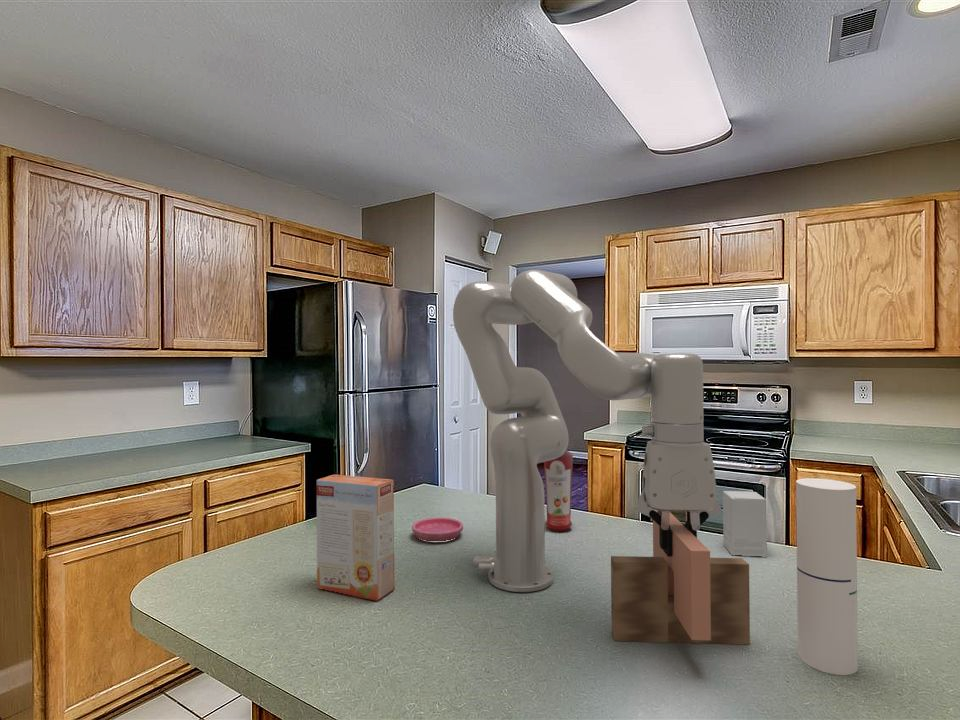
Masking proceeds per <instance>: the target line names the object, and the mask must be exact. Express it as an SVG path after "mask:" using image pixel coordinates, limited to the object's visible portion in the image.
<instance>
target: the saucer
mask: <svg viewBox="0 0 960 720" xmlns="http://www.w3.org/2000/svg"><path fill="white" fill-rule="evenodd" d="M411 530H412V532H413V534H414V535H415V536H416V537H417V538H418V539H419V538H420V539H422V540H426V541H446V540H451V539H454V538H456V537H457V538H458V536H459V535H461V532H462V531H463V530H464V523H463V522H461V521H460V520H458V519H456V518H452V517H451V518H450V517H428V518H423V519H419V520H418V521H417V520H416V522H414V523H412V526H411ZM457 538H456V539H457ZM420 539H419V540H420ZM454 540H455V539H454Z"/></svg>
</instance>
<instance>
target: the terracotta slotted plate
mask: <svg viewBox="0 0 960 720" xmlns="http://www.w3.org/2000/svg"><path fill="white" fill-rule="evenodd" d="M655 511H656V512H657V510H655ZM669 525H670V529H671V530H672V546H673V555H672V557H668V556H667V555H666V553H665V552H664V551H663V549H661V548H660V543H659V525H658V524H657V523H656V522H655V521H654V520H653V519H652V557H663V558H664V559H665V560H666V562H667V569H668V596H674V613H675V614H676V616H677V617H678V619H679V621H680V622H681V624H682V625H683V627H684V628H685V630H686V632H687V633H688V635H689V636H690V638H691V639H692V640H711V599H710V558H711V551H710V550H709V548H707V546H706V545H704V543H702V542H701V541H700V540H699V539H698V537H697V538H696V537H695V536H694V535H693V534H692V533H691V532H690V531H689V530H688V529H687V528H686V527H685V526H684V525H685V524H683V523H682V522H681V521H680V520H678V518H677V517H676V516H674V514H672V512H670V521H669Z"/></svg>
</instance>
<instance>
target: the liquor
mask: <svg viewBox="0 0 960 720" xmlns="http://www.w3.org/2000/svg"><path fill="white" fill-rule="evenodd" d="M573 457H574V455H573V453H571V452H570V451H568V450H567V449H566V451H565V453H564V454H563V455H562V456H560V457H559V458H557V459H554V460H550V461H546V462H543V464H544V465H543V467H544V483H545V485H544V486H545V499H546V501H545V503H546V520H545V527H547V528H548V530H550V531H552V530H553V531H552V532H556V531H557V533H558V532H559V533H560V532H562V531H563V532H566V531H568V530H569V529H570V528H571V527H572V526H573V523H572V521H571V520H572V519H571V514H572V513H571V511H572V510H571V509H572V483H573Z"/></svg>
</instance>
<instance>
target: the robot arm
mask: <svg viewBox="0 0 960 720" xmlns="http://www.w3.org/2000/svg"><path fill="white" fill-rule="evenodd" d="M453 303H454V304H453V308H452V321H453V325H454V330H455V332H456V335H457V337H458V339H459V342H460V344H461V346H462V348H463V350H464V351H465V354H466V356H467V359H468V361H469V365H470V368H471V373H472V375H473V378H474V380H475V384H476V386H477V389H478V392H479V395H480V398H481V400H482V402H483V405H484V407H485V409H486V410H487V411H488V412H490V413H491V414H494V415H510V414H520V415H521V416H518V417H517V416H516V417H512V418H507V419H505V420H503V421H501V422H500V423H498V424H497V425H496V426H495V427H494V429H493V431H492V432H491V435H490V439H489V440H490V441H489V442H490V443H489V446H490V447H489V448H490V454H491V459H492V463H493V471H494V480H495V481H494V482H495V551H494V554H493V555H492V554H491V555H489V556H481V555H480V556H478V555H477V556H475V555H474V556H473V567H477V568H478V571H488V582H489V583H490V584H491V585H493V586H494V587H496V588H497V589H500V590H504V591H507V592H514V593H532V592H538V591H542V590H545V589H546V588H548V587H550V586H551V585H552V583H553V582H554V574H553V573H554V572H553V571H552V570H551V569H550V568H548V567H547V566H546V540H545V539H546V524H545V522H546V520H545V519H546V517H545V516H546V515H545V511H546V509H545V503H546V501H545V487H544V486H545V485H544V482H543V478H542V476H541V473H540V472H539V469H538V466H537V465H538V464H541V463H544V462H546V461H550V460H554V459H557V458H559V457H560V456H562V455H563V454H564V453H565V451H566V450H567V449H568V446H569V440H570V439H569V438H570V437H569V431H568V427H567V424H566V421H565V419H564V416H563V414H562V411H561V409H560V406H559V403H558V400H557V398H556V395H555V392H554V390H553V387H552V386H551V384H550V381H549V379H547V377H546V376H545V375H544V374H543V373H542V372H541V371H540V370H538V369H536V368H533V367H528V366H527V367H526V366H524V367H522V366H516V364H515V363H514V361H513V358H512V356H511V354H510V353H511V352H510V351H509V347H508V345H507V344H506V341H505V340H504V339H503V337H502V336H501V334H499V332H497V330H496V329H495V328H494V327H493V324H494V325H495V324H496V325H509V326H511V325H512V326H514V325H516V326H518V325H526V324H531V323H534V324H535V325H536V326H538V327H539V328H540V330H542V331H543V332H544V333H545V334H546V335H547V336H548V337H549V338H551V339H552V340H553V341H554V342H555V344H556V345H557V351H558V353H559V356H560V358H561V361H562V363H563V365H564V366H565V368H566V369H567V370H568V371H569V372H570V374H572V375H573V376H574V377H575V379H577V380H578V381H579V382H580V383H581V384H582V385H583V386H585V387H586V388H587V389H588V390H590V392H592V393H593V394H595V395H596V396H598V397H599V398H602V399H603V400H608V401H624V400H635V399H642V398H644V399H645V398H650V401H651V402H650V403H651V404H650V405H651V406H650V407H651V409H650V410H651V413H650V414H651V419H650V421H649V425H643V426H642V427H641V434H642V435H643V436H644V435H646V436H649V437H650V439H651V440H648V441H646V448H645V451H644V458H643V465H642V466H643V467H642V468H643V469H642V481H641V493H640V495H639V497H638V499H637V501H636V503H635V505H634V507H635V510H636V511H637V512H638V513H640V514H642V515H644V516H647V517H649V518H651V519H652V521H653V520H654V521H655V522H656V523H657V524H658V525H659V543H660V548H661V549H663V551H664V552H665V553H666V555H667V556H668V557H672V555H673V546H672V530H671V529H670V525H669V521H670V513H671V512H685V523H684V524H683V525H684V526H685V527H686V528H687V529H688V530H689V531H690V532H691V533H692V534H693V535H694V536H695V537H696V538H697V539H698V531H699V530H700V529H701V526H702V525H703V524H704V523H705V522H706V521H707V520H708V519H709V518H710V517H711V518H712V517H714V516H716V515H717V514H720V513H721V512H722V507H721V506H720V503H719V502H718V500H717V498H718V497H717V483H716V472H715V466H714V460H713V459H714V458H713V453H712V449H711V444H710V443H707V442H705V440H704V439H705V438H704V364H703V363H704V362H703V359H702V357H701V356H699V355H698V354H695V353H685V352H684V353H682V352H681V353H676V352H675V353H660V354H652V353H651V354H650V353H643V352H642V353H641V352H616V351H615V350H613V349H612V348H611V347H609V345H607V344H606V343H605V342H603V341H602V340H601V339H599V338H598V336H596V335H595V334H594V333H593V332H592V331H591V329H590V327H591V326H592V322H593V318H594V317H593V312H592V310H591V308H590V307H589V306H588V305H586V304H585V303H584V302H582V301H581V300H580V299H579V298H578V290H577V288H576V285H575V283H574V282H573V281H572V279H570V278H569V277H567V276H566V275H564V274H561V273H557V272H552V271H546V270H542V269H528V270H525V271H521V272H520V273H519V274H517V275H516V276H515V277H514V279H513V280H512V281H511V284H507V283H501V282H494V281H488V280H487V281H482V280H480V281H478V280H477V281H473V282H470V283H468V284H466V285H464V286H462V288H461V289H459V291H458V293H457V295H456V297H455V299H454V302H453ZM655 510H657V512H656V511H655Z"/></svg>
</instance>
